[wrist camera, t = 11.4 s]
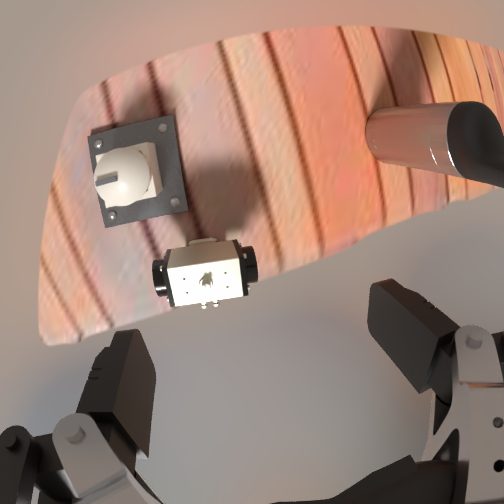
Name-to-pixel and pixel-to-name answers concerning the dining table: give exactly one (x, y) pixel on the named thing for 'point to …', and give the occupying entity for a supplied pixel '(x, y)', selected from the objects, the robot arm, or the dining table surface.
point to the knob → (128, 174)
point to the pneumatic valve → (205, 272)
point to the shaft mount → (168, 161)
